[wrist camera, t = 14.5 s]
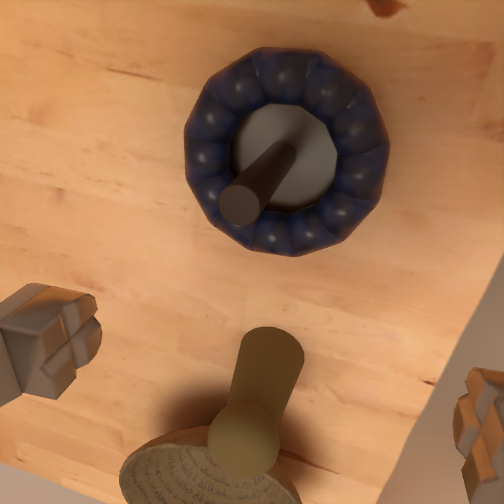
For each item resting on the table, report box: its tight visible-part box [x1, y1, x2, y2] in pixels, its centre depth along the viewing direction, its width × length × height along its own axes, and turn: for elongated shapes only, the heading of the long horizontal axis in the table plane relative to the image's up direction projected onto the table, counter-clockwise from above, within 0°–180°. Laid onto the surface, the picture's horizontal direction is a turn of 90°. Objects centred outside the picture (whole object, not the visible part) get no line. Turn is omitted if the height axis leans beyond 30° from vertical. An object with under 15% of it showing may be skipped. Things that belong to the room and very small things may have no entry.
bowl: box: [119, 425, 302, 504], centre depth 39 cm, size 18×18×8 cm
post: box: [219, 104, 337, 226], centre depth 22 cm, size 8×8×11 cm
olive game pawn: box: [207, 327, 304, 478], centre depth 31 cm, size 6×6×11 cm
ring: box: [184, 47, 390, 257], centre depth 25 cm, size 13×13×3 cm
